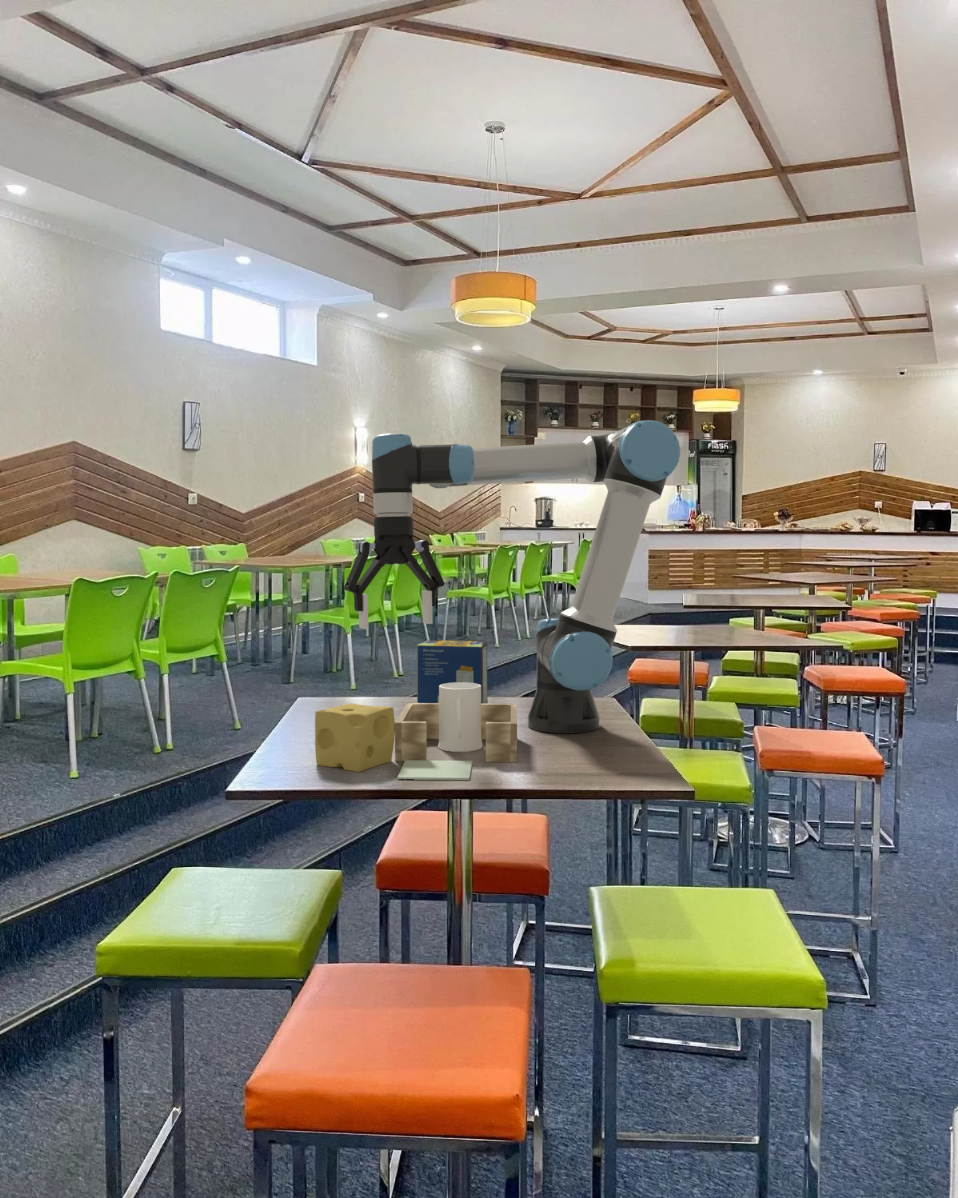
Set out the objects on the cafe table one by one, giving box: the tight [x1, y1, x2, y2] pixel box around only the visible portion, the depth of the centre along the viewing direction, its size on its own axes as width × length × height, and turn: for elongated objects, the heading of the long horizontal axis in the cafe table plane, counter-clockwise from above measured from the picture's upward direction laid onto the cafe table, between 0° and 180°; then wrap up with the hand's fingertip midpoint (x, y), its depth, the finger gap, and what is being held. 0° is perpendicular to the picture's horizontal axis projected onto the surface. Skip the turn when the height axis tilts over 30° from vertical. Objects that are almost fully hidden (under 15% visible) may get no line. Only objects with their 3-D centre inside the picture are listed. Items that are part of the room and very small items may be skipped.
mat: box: [396, 759, 473, 781], centre depth 165 cm, size 12×12×1 cm
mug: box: [437, 682, 483, 753], centre depth 181 cm, size 12×8×12 cm
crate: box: [394, 702, 518, 763], centre depth 181 cm, size 22×20×7 cm
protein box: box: [416, 639, 489, 704], centre depth 224 cm, size 10×15×16 cm
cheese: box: [314, 703, 396, 773], centre depth 171 cm, size 10×11×10 cm
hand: (396, 626), depth 185 cm, fingers open, 13 cm apart
